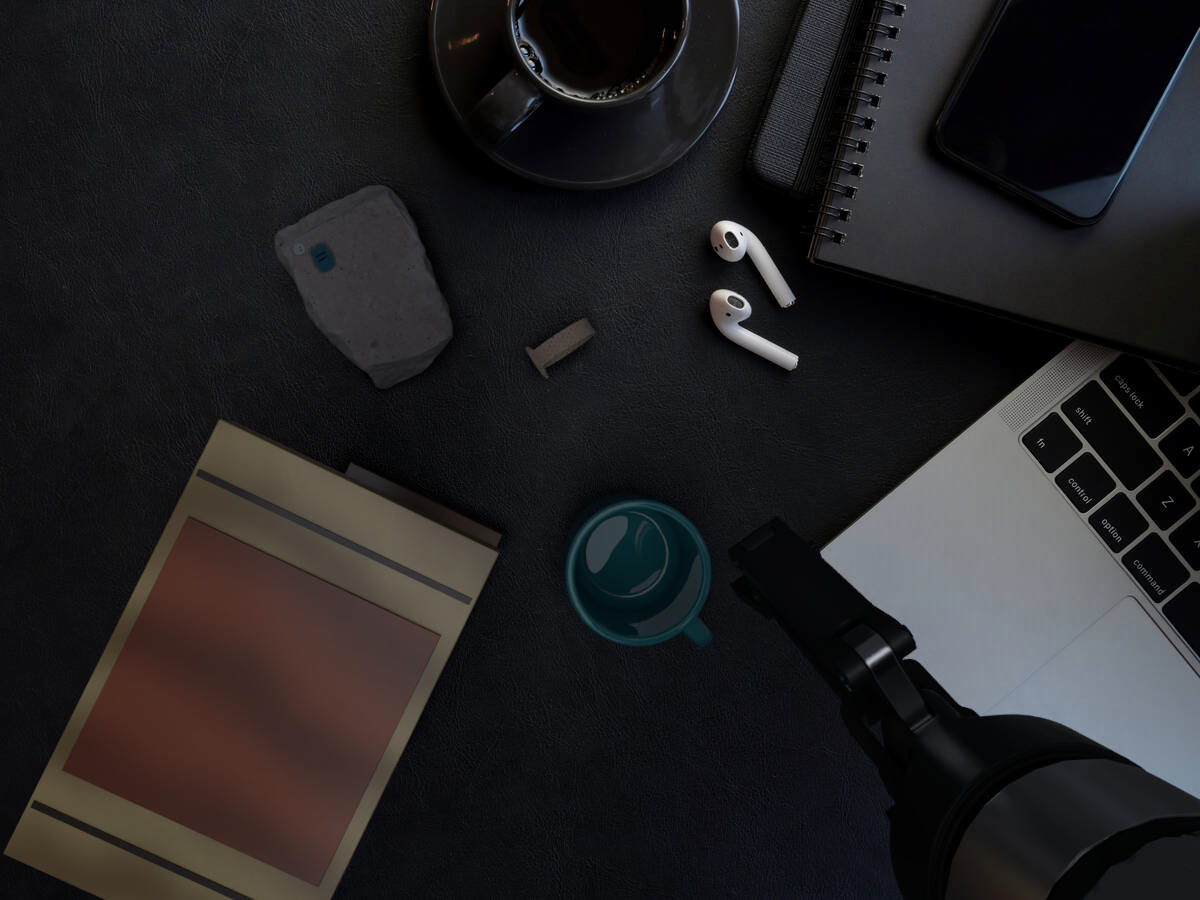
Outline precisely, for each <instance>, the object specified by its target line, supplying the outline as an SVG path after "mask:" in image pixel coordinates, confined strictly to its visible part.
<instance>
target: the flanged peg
mask: <svg viewBox="0 0 1200 900" xmlns="http://www.w3.org/2000/svg"><path fill="white" fill-rule="evenodd" d="M594 336H596V330H595V329H594V328H593V326H592V324H591V323H590V321H589V320H588V319H587V318H585V317H584V318H582V319H579V320H577V321H575V322H574V323H571V324H570V325H568V326H567V327H565V328H563V329H561V330H559V332H557V333H555V334H554V335H553V336H551V337H549V338H548V339H546V340H545V341H544V342H543V343H541V344H540V345H538V346H537V347H536V348H534V349H533V348H532V347H530V346H528V345H527V346H525V347H524V349H525V352H526V354H528V356H529V358H530V360H531V361H532V362H533V364H534V366H535V367H536V368H537V370H538V372H539V373H540V374H541V376H542V377H543V378H545V379H548V378H549V375H548V373H547V370H546V369H547V368H548V367H550V366H552V365H553V364H555V363H557V362H559V361H560V360H562V359H564V358H565V357H566V356H568V355H569V354H571V353H573V352H574V351H575V350H577V349H578V348H579V347H581V346H582V345H584V344H585V343H587V342H588V341H589V340H590V339H592V338H593V337H594Z"/></svg>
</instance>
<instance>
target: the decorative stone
mask: <svg viewBox="0 0 1200 900" xmlns="http://www.w3.org/2000/svg"><path fill="white" fill-rule="evenodd" d="M274 250H275V254H276V257H277V259H278V261H279V262H280V263H281V265H282V266H283V267H284V268H285V270H286V272H287V273H288V274H289V276H290V277H291V278H292V279H293V281H294V283H295V285H296V288H297V289H296V290H297V292H298V293H299V294H300V297H301V298H302V301H303V306H304V308H305V312H306V314H307V316H308V318H309V319H310V320H311V321H312V322H313V324H314V326H315V327H316V328H317V329H318V330H320V332H321V334H322V335H324V336H325V337H326V338H327V339H328V341H329V343H330V344H331V345H333V346H334V347H335V348H337V349H338V350H339V351H340V352H341V353H342V354H343V355H344V356H345V358H346V359H348V360H349V361H351V363H353V364H354V365H355V366H356V367H357V368H359V369H360V370H362V371H364V373H366V374H367V375H368V376H369V377H370V379H371V380H372V382H373V384H374V386H375V387H376V388H377V389H381V390H388V389H390V388H391V387H393V386H395V385H396V384H398V383H400V382H403V381H406V380H408V379H410V378H412V377H415V376H417V375H419V374H422V373H423V372H424V371H425V370H426V369H428V367H429V366H430V365H431V364H433V362H434V360H435V359H436V358H437V357H438V356H439V355H440V354H441V352H442V351H443V350H444V349H445V347H446V346H447V345H448V344H449V342H450V341H451V340H452V339H453V338H454V335H453V332H454V330H453V327H454V324H453V321H452V319H451V311H450V306H449V304H448V301H447V300H446V297H445V295H444V293H442V291H441V290H440V286H439V284H438V281H437V280H436V276H435V273H434V270H433V266H432V262H431V261H430V259H429V258H428V256H427V254H426V247H425V245H424V243H423V242H422V240H421V237H420V234H419V230H418V226H417V224H416V222H415V220H414V218H413V217H412V216H411V215H410V213H409V211H408V208H407V207H406V205H405V203H404V202H403V200H402V199H401V198H400V196H399V195H397V194H396V193H395V192H394V190H393V189H392V188H390V187H387V186H386V185H383V184H377V185H376V184H375V185H369V184H368V185H367V186H365V187H362V188H360V189H359V190H358V191H355V192H353V193H350V194H348V195H345V196H343V198H340V199H337V200H333V201H331V202H328V203H326V204H325V205H323V206H322V207H320V208H318V209H317V210H314V211H312V212H310V213H309V214H307V215H305V216H304V217H303V216H302V218H301V219H299V220H298V221H297V222H296V223H294V224H289V225H288V226H286V227H283V228H282V229H279V231H278V232H277V233H276V234H275V237H274Z"/></svg>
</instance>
